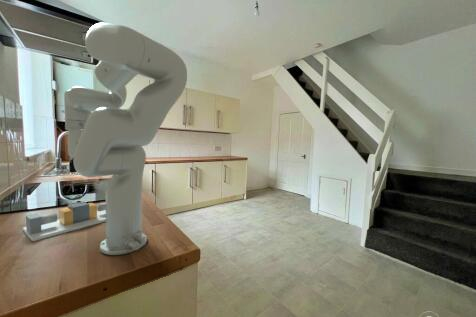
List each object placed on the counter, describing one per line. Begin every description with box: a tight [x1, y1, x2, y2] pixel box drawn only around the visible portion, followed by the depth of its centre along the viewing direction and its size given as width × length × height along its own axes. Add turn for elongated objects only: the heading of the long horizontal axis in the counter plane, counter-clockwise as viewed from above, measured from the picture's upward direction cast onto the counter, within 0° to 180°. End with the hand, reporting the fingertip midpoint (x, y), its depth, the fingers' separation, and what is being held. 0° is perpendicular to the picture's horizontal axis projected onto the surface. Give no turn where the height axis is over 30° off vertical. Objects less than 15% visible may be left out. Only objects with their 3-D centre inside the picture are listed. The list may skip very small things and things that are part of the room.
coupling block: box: [58, 201, 97, 226], centre depth 75 cm, size 5×10×6 cm, turn 146°
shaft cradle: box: [22, 202, 106, 242], centre depth 75 cm, size 12×27×6 cm, turn 146°
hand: (80, 173), depth 74 cm, fingers open, 9 cm apart
